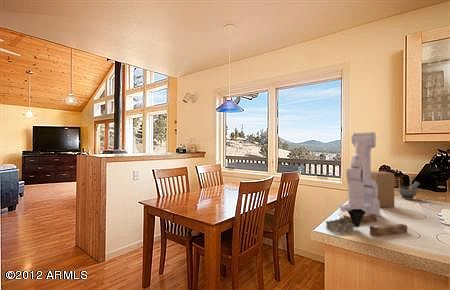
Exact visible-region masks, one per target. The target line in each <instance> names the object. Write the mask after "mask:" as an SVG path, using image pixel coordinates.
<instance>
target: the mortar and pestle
mask: <svg viewBox="0 0 450 290" xmlns="http://www.w3.org/2000/svg"><path fill="white" fill-rule="evenodd" d="M419 185H421V184H420V182H418V181H414V183H412V185H411V186H410V187H408V186H399V187H398V188H397V189H398V190H397V191H398V193H399V194H400V195H401V199H403V200H407V201H408V200H410V201H411V200H414V197H415V196H416V195H417V193H418V189H417V188H418V186H419Z"/></svg>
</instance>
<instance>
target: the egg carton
mask: <svg viewBox="0 0 450 290" xmlns="http://www.w3.org/2000/svg"><path fill="white" fill-rule="evenodd" d="M325 223H326V225H325V226H326V228H327V229H330V228H331V229H330V231H331V232H334V231H336V232H335V233H339V231H338V230H342V231H341V232H343V231H346V232H347V231H348V230H350V231H349V232H354V230H353V229H355V228H354V227H355V226H354V224H352V223H351V224H350V222H349V220H347V219H346V217H345V218H344V217H339V218H338V219H335V220H332V219H331V220H329V221H328V220H325Z"/></svg>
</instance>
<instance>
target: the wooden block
mask: <svg viewBox="0 0 450 290" xmlns="http://www.w3.org/2000/svg"><path fill="white" fill-rule="evenodd" d="M371 179H372V180H373V181H375V182H376V183H377V187H378V197H377V199H378V200H379V202H380V208H395V173H393V172H388V171H379V170H378V171H376V170H375V171H373V170H372V171H371Z"/></svg>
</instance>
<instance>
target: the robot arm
mask: <svg viewBox="0 0 450 290" xmlns="http://www.w3.org/2000/svg"><path fill="white" fill-rule="evenodd" d="M376 143H377V137H376V133H375V132H374V131H372V132H353V133H352V134H351V144H352V145H353V146H354V147H355V148H354V149H355V150H354V152H355V153H354V155H352V156H351V160H350V164H349V168H347V170H346V180H347V185H348V204H345V205H340V206H339V207H340V208H339V209H340V212H344V213H345V212H347V213H348V215H349V216H350V217H351V220H352V223H353V224H354V227H355V228H359V227H360V226H361V223H360V222H361V219H362V217H363V216H364V215H366V214H375V215H377V217H379V216H382V214H381V209H380V208H381V207H380V202H379V200H378V199H377V197H378V187H377V183H376V182H375V181H373V180H372V179H371V170H372V169H371V167H372V166H371V165H372V163H371V162H372V161H371V160H372V159H371V158H372V157H371V153H372V151H371V150H372V149H373V148H374V149H375V148H376V145H377V144H376Z"/></svg>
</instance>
